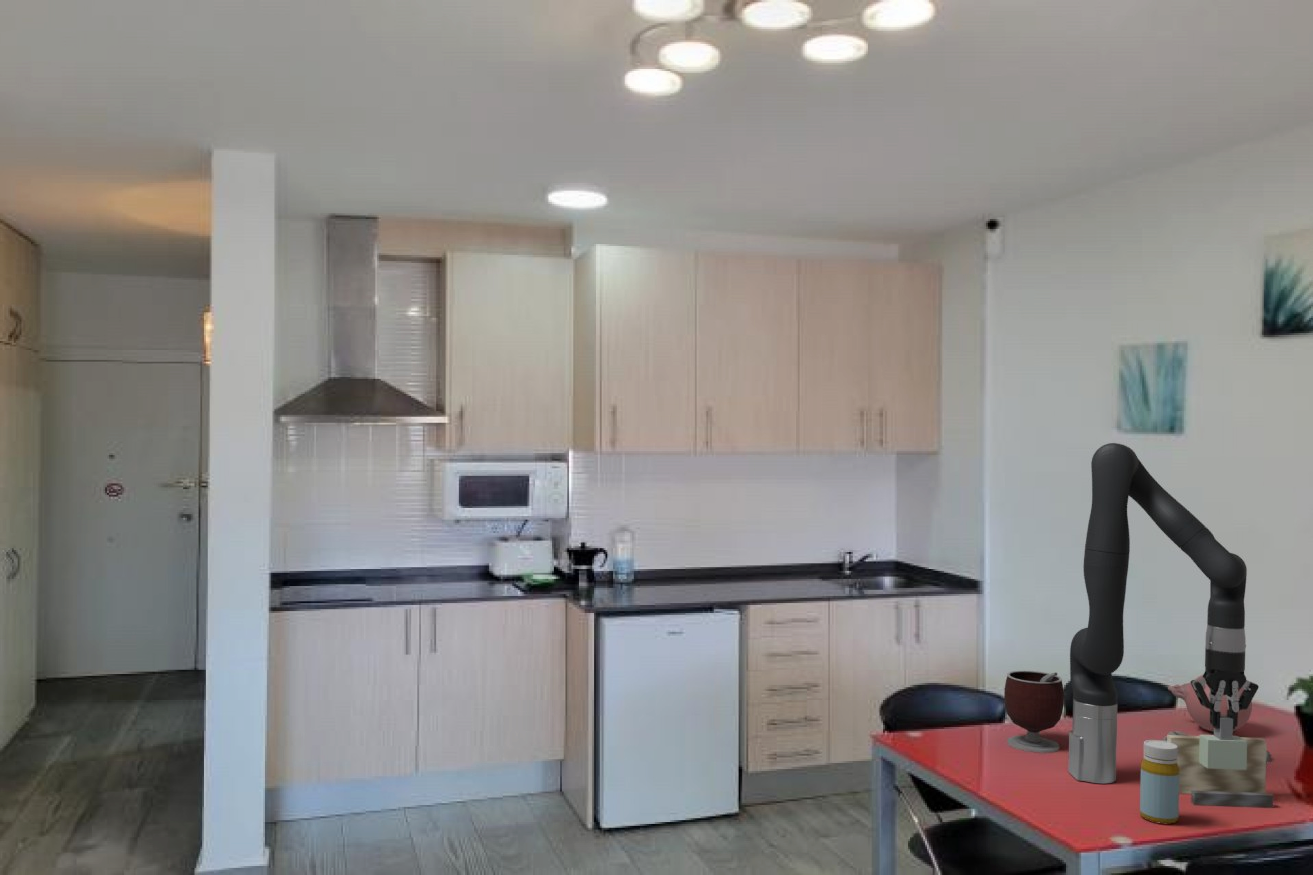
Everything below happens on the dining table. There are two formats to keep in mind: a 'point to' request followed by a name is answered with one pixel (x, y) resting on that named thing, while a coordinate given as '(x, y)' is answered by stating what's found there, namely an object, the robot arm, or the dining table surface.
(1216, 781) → the wall board
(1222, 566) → the robot arm
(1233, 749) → the cabinet block
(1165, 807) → the bottle
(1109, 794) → the dining table surface
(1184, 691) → the balloon
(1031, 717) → the mate gourd
